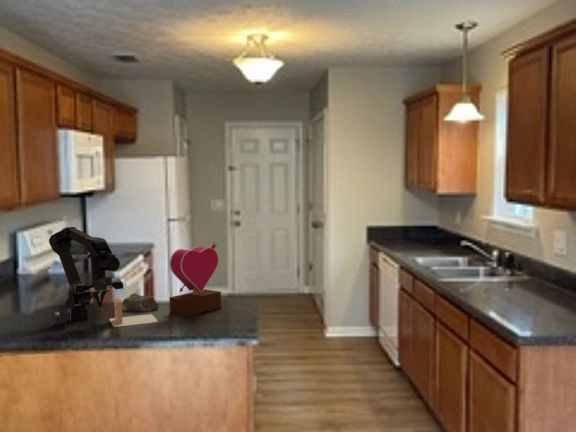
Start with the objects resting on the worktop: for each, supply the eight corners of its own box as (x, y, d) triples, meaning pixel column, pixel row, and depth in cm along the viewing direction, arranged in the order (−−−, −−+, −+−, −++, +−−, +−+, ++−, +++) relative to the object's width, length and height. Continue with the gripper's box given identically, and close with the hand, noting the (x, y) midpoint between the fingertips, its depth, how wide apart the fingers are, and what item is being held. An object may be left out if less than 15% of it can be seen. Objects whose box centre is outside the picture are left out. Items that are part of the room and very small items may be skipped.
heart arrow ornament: (210, 304, 284) (208, 240, 282) (226, 306, 278) (224, 242, 275) (169, 314, 265) (167, 246, 263) (185, 317, 259) (182, 248, 256)
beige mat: (113, 328, 243) (113, 326, 243) (109, 319, 257) (109, 318, 257) (158, 322, 251) (158, 321, 250) (151, 315, 264) (151, 314, 264)
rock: (116, 302, 270) (127, 292, 279) (120, 316, 272) (130, 305, 282) (151, 302, 266) (161, 292, 275) (154, 316, 268) (164, 305, 277)
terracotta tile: (117, 324, 247) (116, 302, 247) (115, 320, 255) (114, 298, 254) (122, 323, 248) (121, 302, 248) (119, 319, 256) (119, 298, 255)
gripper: (75, 274, 236) (77, 313, 237) (124, 270, 243) (126, 308, 244) (73, 270, 246) (75, 308, 247) (120, 266, 253) (122, 303, 255)
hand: (99, 307), depth 248 cm, fingers closed
